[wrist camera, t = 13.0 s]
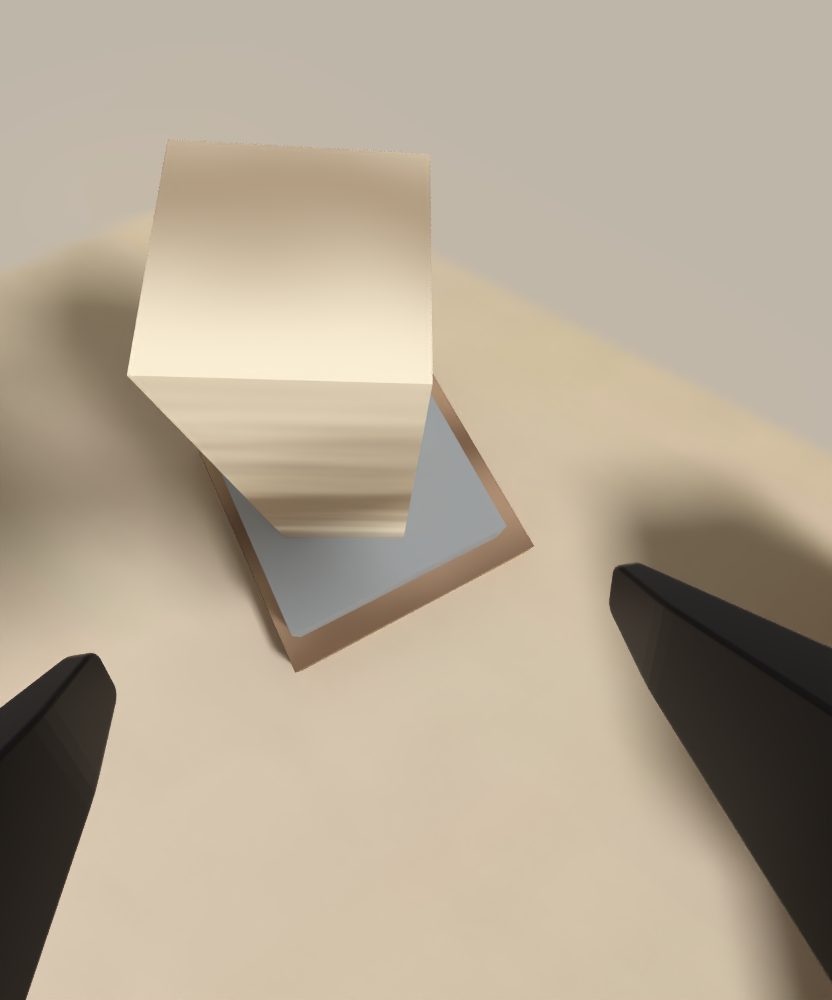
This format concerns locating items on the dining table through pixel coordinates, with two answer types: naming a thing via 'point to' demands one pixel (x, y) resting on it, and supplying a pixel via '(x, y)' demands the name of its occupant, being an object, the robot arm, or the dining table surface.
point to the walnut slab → (404, 597)
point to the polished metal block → (294, 326)
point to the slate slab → (378, 539)
